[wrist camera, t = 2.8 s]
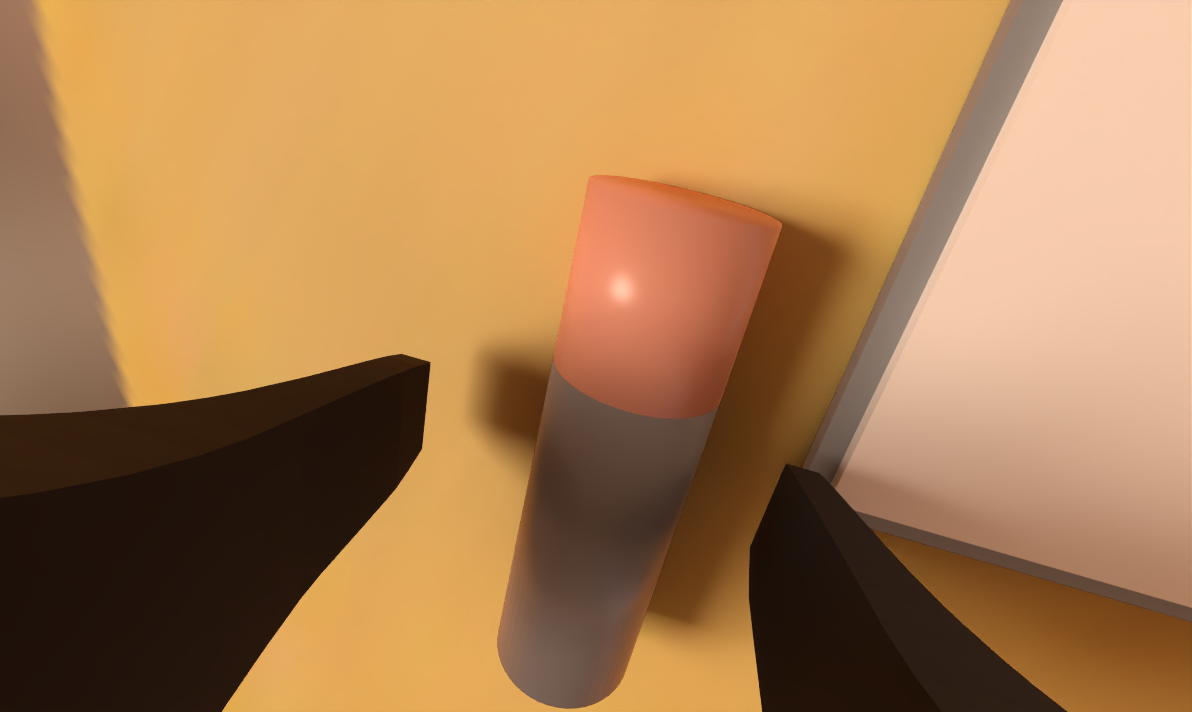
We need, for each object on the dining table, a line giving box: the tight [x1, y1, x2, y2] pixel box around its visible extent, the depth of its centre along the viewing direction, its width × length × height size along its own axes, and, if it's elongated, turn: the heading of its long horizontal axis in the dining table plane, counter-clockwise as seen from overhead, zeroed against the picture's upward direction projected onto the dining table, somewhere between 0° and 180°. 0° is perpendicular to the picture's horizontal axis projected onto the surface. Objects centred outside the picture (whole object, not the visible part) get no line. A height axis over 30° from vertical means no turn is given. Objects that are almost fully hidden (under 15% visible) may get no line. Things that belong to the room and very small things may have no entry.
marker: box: [497, 175, 783, 709], centre depth 11 cm, size 10×3×3 cm, turn 168°
